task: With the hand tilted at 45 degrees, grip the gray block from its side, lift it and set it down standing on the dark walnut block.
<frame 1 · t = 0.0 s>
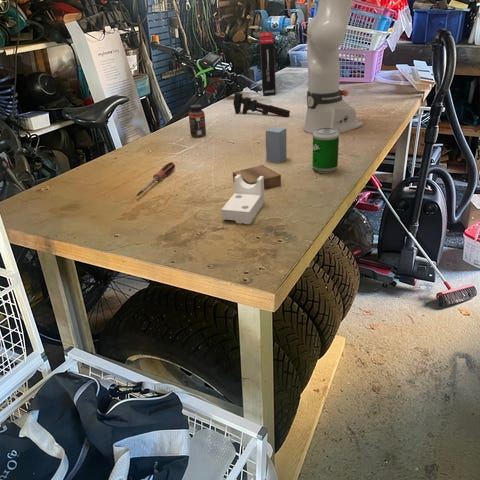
bracket: (244, 213, 122), on the table
supplement bottle: (198, 136, 181), on the table
gray block: (276, 160, 153), on the table
adjustable wrench: (261, 115, 203), on the table
soda can: (324, 170, 143), on the table
screwdriver: (156, 184, 142), on the table
graphics card box: (268, 92, 240), on the table
walnut block: (256, 183, 137), on the table
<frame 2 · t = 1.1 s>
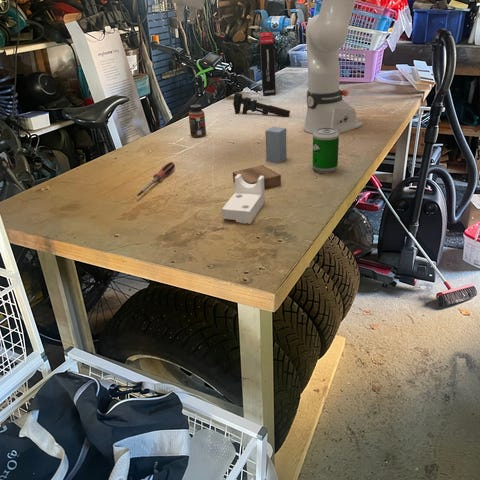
hand: (185, 22, 148), 41 cm above the table, tool pointing down, fingers open, 8 cm apart
nothing on the table moved.
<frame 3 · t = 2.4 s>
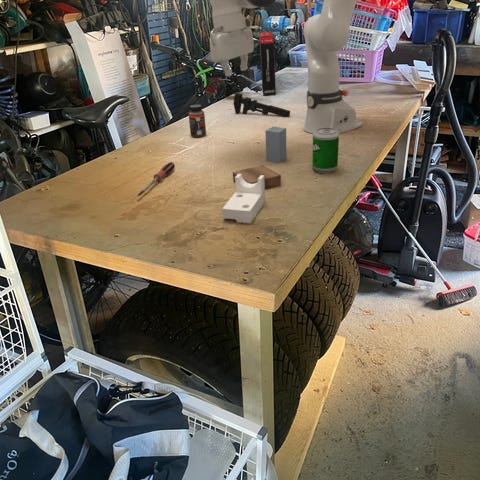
hand: (236, 73, 148), 26 cm above the table, tool pointing down, fingers open, 8 cm apart
nothing on the table moved.
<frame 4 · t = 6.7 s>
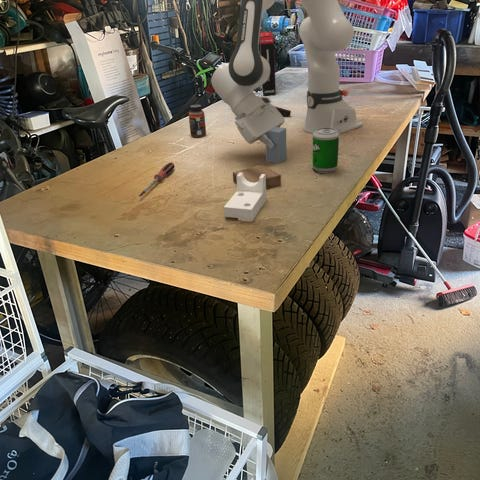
hand: (278, 143, 150), 5 cm above the table, tool tilted 45°, fingers closed on gray block, 5 cm apart
gray block: (276, 160, 153), on the table, touching gripper
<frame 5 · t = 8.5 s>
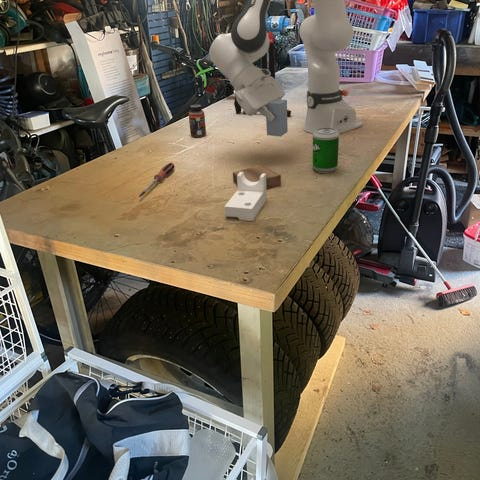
hand: (278, 116, 146), 14 cm above the table, tool tilted 45°, fingers closed on gray block, 5 cm apart
gray block: (277, 133, 149), point 9 cm above the table, touching gripper
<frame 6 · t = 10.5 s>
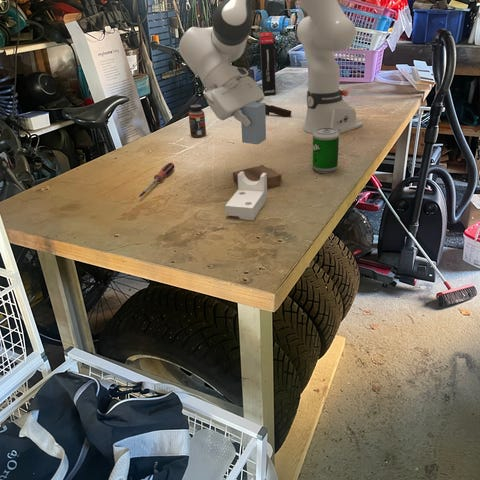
hand: (255, 121, 128), 18 cm above the table, tool tilted 45°, fingers closed on gray block, 5 cm apart
gray block: (254, 140, 131), point 12 cm above the table, touching gripper
when the fingers open (10 cm above the table, at t = 12.4 s): gray block stays where it is, point 4 cm above the table.
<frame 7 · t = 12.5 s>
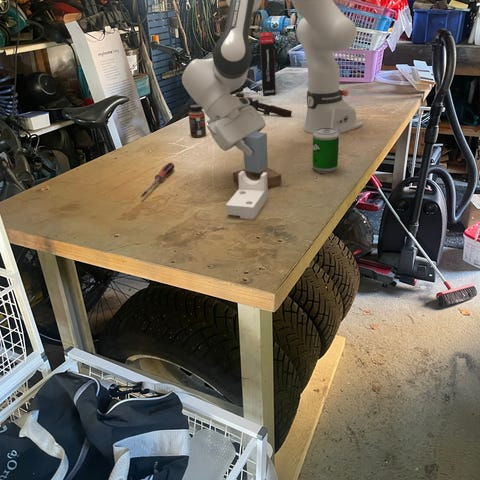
hand: (257, 150, 132), 10 cm above the table, tool tilted 45°, fingers open, 5 cm apart
gray block: (256, 169, 135), point 4 cm above the table
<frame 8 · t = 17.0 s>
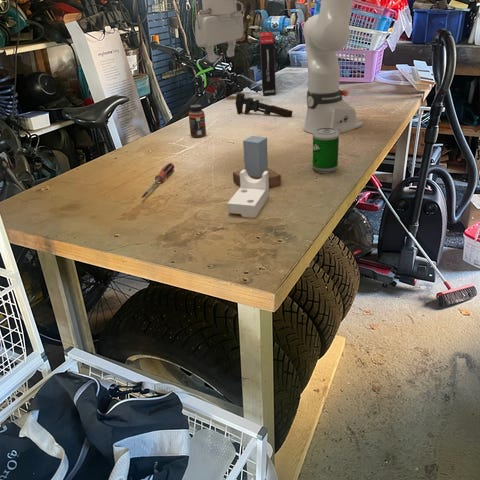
hand: (222, 59, 141), 31 cm above the table, tool pointing down, fingers open, 8 cm apart
gray block: (256, 173, 136), point 3 cm above the table, touching walnut block
at the end: gray block inside the target area on the walnut block (0.1 cm from its centre), point 3.0 cm above the walnut block's base; gray block tilted 0°; the gripper is holding nothing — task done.
